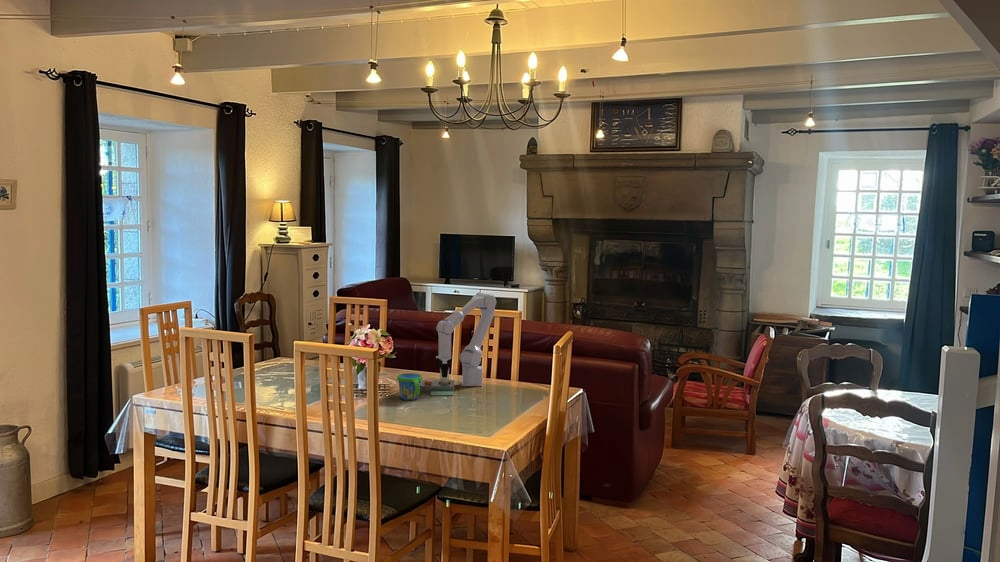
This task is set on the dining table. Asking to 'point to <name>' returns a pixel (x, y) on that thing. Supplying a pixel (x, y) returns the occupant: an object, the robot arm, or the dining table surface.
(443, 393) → the mat
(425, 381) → the plunger
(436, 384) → the housing
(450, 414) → the dining table surface
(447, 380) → the cylinder
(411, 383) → the snack cup
